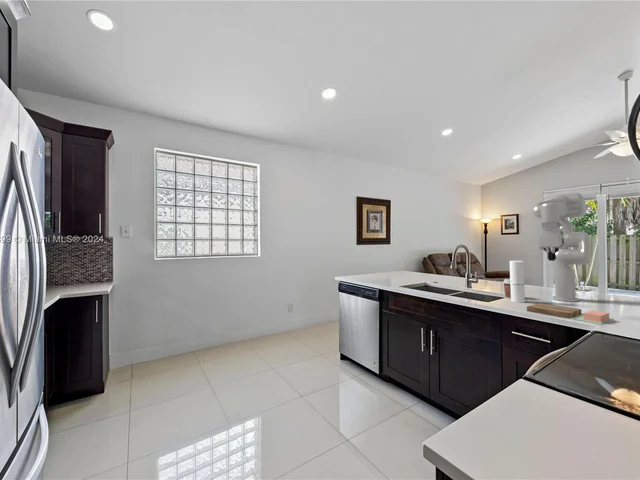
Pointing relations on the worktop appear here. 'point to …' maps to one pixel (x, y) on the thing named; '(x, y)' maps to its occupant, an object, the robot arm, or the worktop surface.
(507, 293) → the coffee cup
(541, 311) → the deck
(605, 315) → the pink rectangular block
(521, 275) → the cylindrical container
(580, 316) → the mat
